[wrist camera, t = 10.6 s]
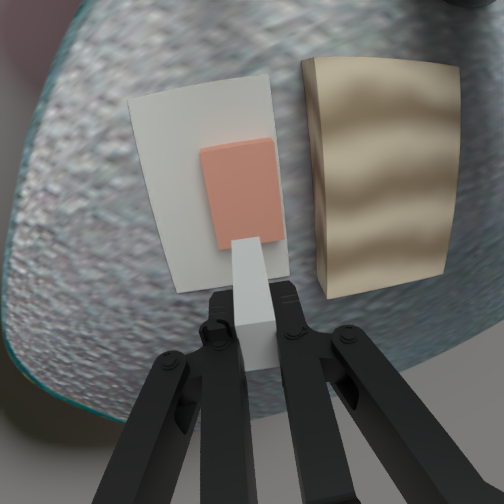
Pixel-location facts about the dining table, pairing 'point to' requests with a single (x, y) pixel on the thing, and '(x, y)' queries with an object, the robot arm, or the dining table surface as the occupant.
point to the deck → (381, 168)
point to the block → (243, 191)
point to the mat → (200, 171)
